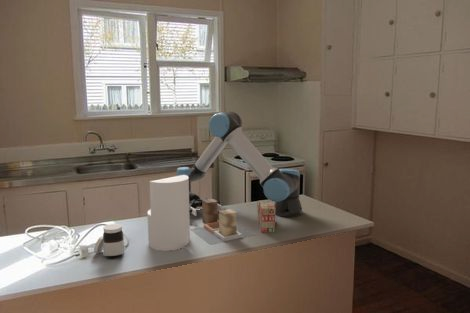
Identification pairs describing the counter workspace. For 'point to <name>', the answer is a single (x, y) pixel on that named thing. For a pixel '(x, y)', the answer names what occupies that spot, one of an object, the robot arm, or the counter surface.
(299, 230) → the counter surface
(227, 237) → the board
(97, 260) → the counter surface
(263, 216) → the stack of blocks
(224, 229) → the oak pillar
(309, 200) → the counter surface
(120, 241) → the spread jar
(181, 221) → the cylinder
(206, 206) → the walnut pillar
